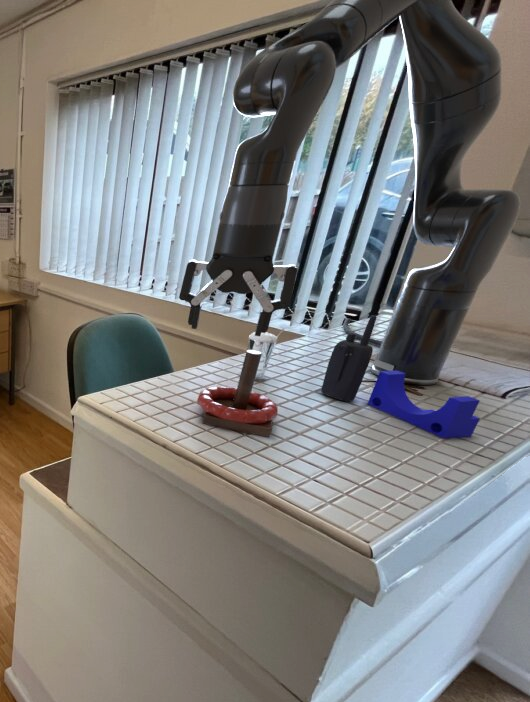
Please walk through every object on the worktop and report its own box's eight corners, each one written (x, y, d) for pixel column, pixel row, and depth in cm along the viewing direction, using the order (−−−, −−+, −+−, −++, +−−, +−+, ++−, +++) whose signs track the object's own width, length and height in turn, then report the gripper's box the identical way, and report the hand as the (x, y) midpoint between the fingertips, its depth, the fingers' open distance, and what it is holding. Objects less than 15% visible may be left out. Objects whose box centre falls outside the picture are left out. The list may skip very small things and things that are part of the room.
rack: (208, 402, 80) (222, 340, 76) (269, 414, 76) (289, 348, 71) (202, 423, 73) (218, 355, 69) (269, 437, 69) (291, 366, 64)
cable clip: (471, 436, 68) (489, 399, 65) (443, 438, 67) (460, 401, 65) (391, 402, 79) (405, 369, 76) (367, 403, 78) (380, 371, 76)
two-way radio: (359, 401, 79) (392, 317, 73) (339, 405, 78) (370, 319, 72) (328, 389, 84) (355, 309, 78) (309, 392, 83) (335, 311, 77)
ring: (200, 391, 81) (203, 380, 80) (275, 404, 76) (278, 393, 75) (193, 415, 73) (195, 403, 72) (276, 432, 67) (279, 420, 67)
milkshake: (275, 382, 88) (289, 331, 84) (244, 380, 89) (257, 330, 85) (264, 373, 92) (278, 325, 88) (235, 372, 93) (247, 324, 89)
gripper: (311, 218, 64) (279, 331, 70) (197, 218, 71) (178, 320, 78) (315, 222, 58) (280, 344, 65) (190, 221, 65) (170, 331, 72)
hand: (224, 331), depth 71 cm, fingers open, 8 cm apart
